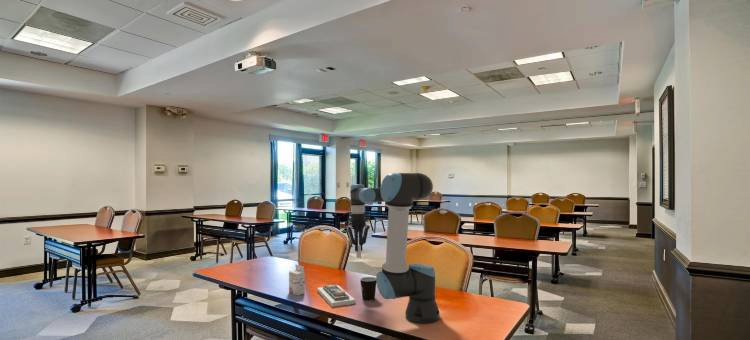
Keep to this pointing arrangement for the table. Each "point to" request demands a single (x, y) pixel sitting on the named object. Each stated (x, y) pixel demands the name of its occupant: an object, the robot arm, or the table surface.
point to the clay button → (339, 293)
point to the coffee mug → (368, 288)
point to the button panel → (335, 297)
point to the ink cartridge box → (297, 281)
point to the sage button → (330, 286)
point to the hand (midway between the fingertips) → (358, 257)
